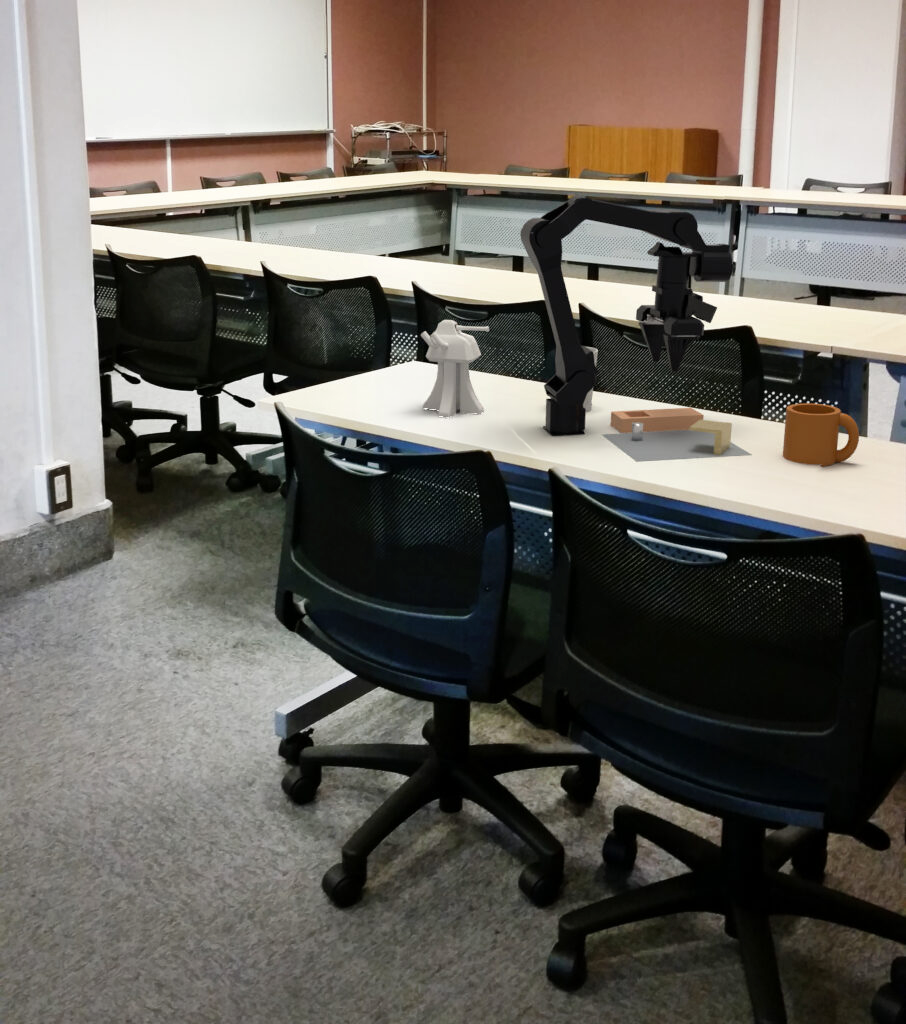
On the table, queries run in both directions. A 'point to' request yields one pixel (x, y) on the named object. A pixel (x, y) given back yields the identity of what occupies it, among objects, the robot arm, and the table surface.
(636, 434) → the cylinder
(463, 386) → the white mech figurine
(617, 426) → the link
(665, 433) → the mat
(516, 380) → the table surface
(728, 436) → the keeper
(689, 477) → the table surface
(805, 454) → the mug
